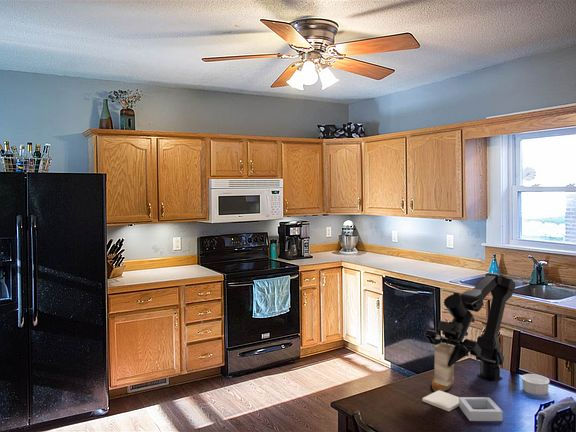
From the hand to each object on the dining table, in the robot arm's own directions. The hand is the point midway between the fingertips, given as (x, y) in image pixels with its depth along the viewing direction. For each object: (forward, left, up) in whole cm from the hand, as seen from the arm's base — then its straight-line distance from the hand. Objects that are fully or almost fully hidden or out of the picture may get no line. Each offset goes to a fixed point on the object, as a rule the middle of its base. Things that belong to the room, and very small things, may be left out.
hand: (442, 364), depth 154 cm
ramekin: (+5, +37, -14) cm, 40 cm away
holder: (+10, +6, -13) cm, 18 cm away
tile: (-1, +1, -13) cm, 13 cm away
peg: (0, +1, -7) cm, 7 cm away
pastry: (-10, +9, -14) cm, 19 cm away
